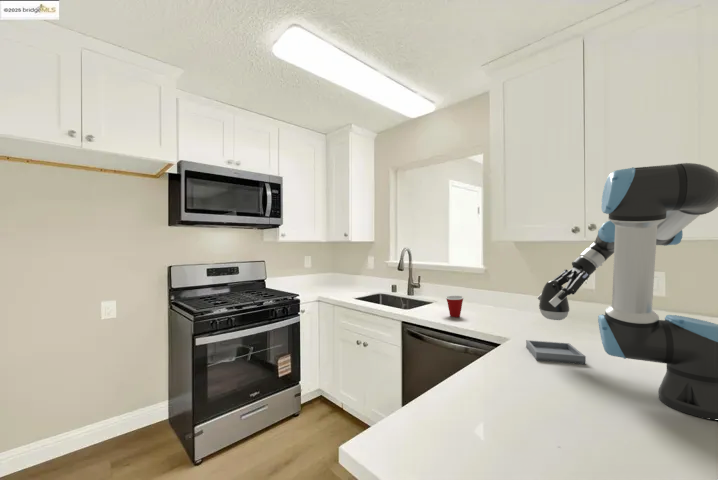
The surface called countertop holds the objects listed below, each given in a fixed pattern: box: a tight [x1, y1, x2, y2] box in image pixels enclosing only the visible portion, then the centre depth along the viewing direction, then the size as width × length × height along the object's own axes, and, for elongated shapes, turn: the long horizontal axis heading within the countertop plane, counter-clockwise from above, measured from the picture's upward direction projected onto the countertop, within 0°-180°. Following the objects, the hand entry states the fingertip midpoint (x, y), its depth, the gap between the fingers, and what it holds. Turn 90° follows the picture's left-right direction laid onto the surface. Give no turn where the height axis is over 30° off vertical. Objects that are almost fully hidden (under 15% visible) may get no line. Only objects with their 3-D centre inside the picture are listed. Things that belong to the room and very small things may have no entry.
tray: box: [525, 339, 587, 365], centre depth 125 cm, size 16×16×3 cm
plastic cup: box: [445, 295, 465, 318], centre depth 194 cm, size 11×11×12 cm
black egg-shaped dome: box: [538, 279, 570, 321], centre depth 125 cm, size 10×10×15 cm
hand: (545, 302), depth 125 cm, fingers closed on black egg-shaped dome, 10 cm apart
